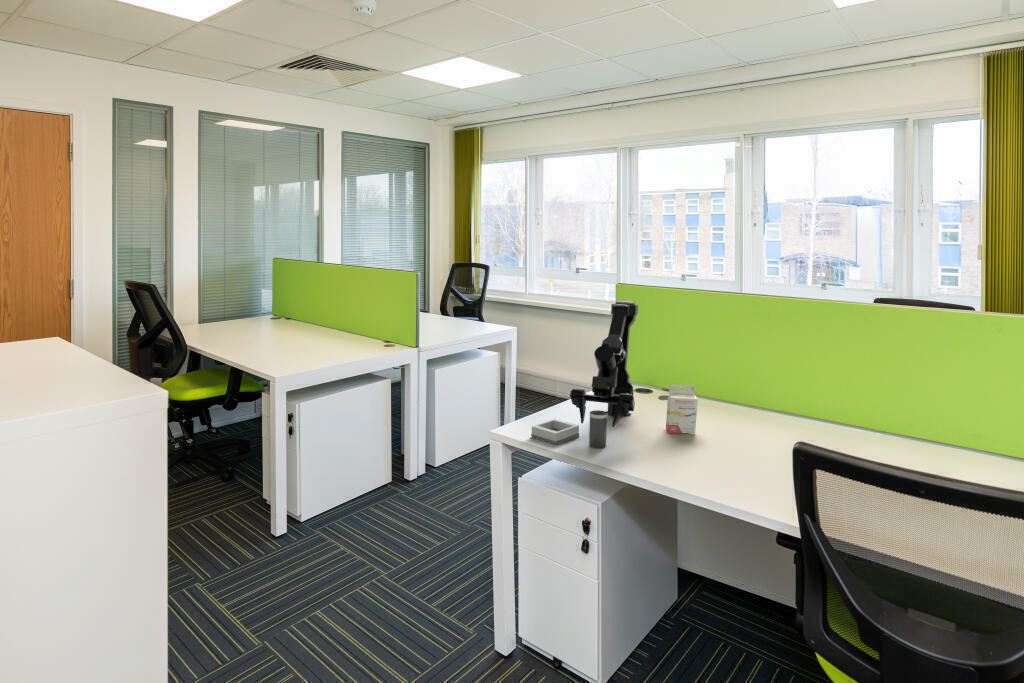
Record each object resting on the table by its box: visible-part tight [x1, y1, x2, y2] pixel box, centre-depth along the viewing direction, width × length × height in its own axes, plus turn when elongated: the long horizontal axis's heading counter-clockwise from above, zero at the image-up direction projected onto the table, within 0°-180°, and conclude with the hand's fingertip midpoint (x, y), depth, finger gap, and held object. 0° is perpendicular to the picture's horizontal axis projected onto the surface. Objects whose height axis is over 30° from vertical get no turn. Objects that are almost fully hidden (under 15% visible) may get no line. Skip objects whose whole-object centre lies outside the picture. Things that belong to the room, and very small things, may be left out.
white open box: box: [530, 418, 580, 446], centre depth 189 cm, size 11×10×4 cm
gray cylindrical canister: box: [588, 409, 609, 449], centre depth 181 cm, size 5×5×10 cm
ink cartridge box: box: [665, 384, 699, 435], centre depth 194 cm, size 9×5×15 cm, turn 84°
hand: (597, 424), depth 179 cm, fingers open, 9 cm apart
